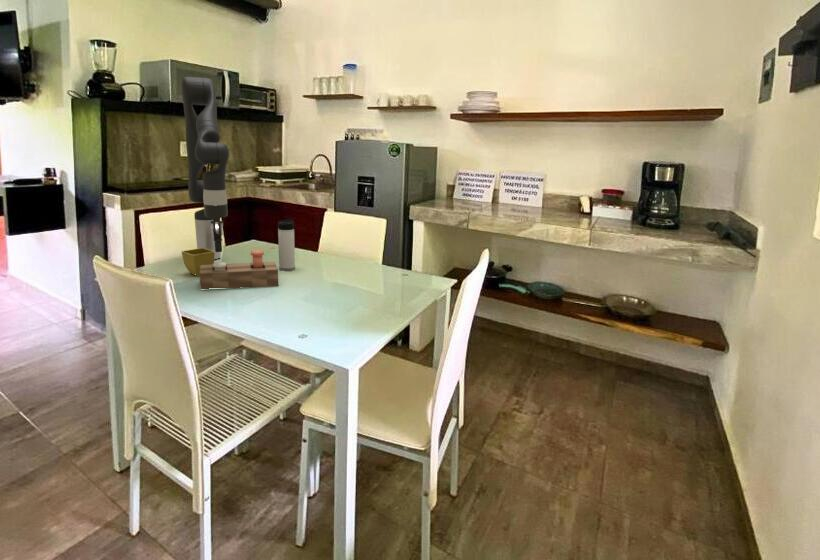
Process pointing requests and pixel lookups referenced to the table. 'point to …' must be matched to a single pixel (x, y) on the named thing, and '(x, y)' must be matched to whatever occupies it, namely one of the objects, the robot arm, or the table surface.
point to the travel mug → (286, 245)
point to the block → (239, 276)
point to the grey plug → (219, 265)
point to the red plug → (257, 258)
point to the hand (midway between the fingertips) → (218, 251)
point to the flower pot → (197, 259)
